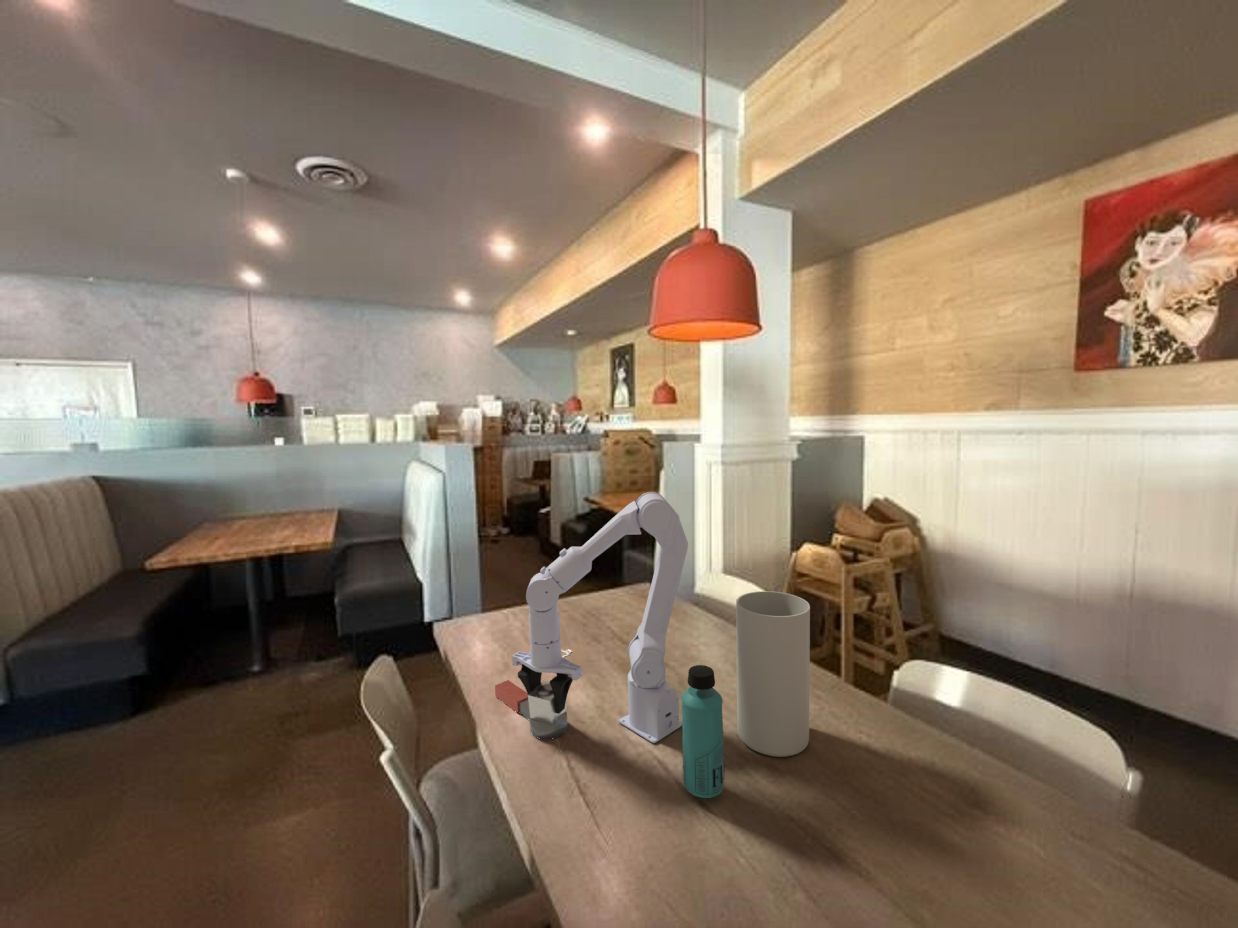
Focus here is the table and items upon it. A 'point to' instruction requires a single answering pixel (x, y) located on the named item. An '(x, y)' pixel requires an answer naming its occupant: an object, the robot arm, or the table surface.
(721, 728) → the beverage bottle
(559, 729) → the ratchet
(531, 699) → the cube block
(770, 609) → the cylinder vase
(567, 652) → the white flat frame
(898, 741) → the table surface
